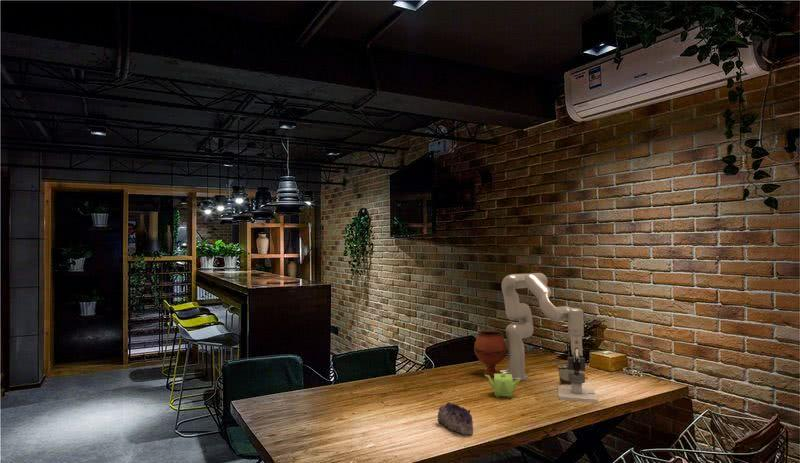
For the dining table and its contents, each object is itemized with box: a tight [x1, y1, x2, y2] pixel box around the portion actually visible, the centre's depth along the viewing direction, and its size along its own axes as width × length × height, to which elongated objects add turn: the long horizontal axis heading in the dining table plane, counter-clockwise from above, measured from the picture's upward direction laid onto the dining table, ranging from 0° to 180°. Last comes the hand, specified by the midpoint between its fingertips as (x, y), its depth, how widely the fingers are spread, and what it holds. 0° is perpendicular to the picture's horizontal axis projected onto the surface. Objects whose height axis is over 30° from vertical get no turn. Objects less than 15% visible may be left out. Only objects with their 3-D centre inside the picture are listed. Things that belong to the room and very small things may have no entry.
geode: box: [437, 402, 474, 437], centre depth 195 cm, size 20×12×10 cm, turn 28°
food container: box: [556, 363, 574, 386], centre depth 256 cm, size 12×6×10 cm, turn 84°
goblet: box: [473, 330, 508, 377], centre depth 275 cm, size 19×19×25 cm
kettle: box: [484, 373, 521, 399], centre depth 236 cm, size 15×14×11 cm
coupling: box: [567, 356, 589, 384], centre depth 236 cm, size 9×8×12 cm
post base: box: [557, 383, 599, 404], centre depth 235 cm, size 18×18×7 cm
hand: (576, 367), depth 236 cm, fingers open, 5 cm apart
